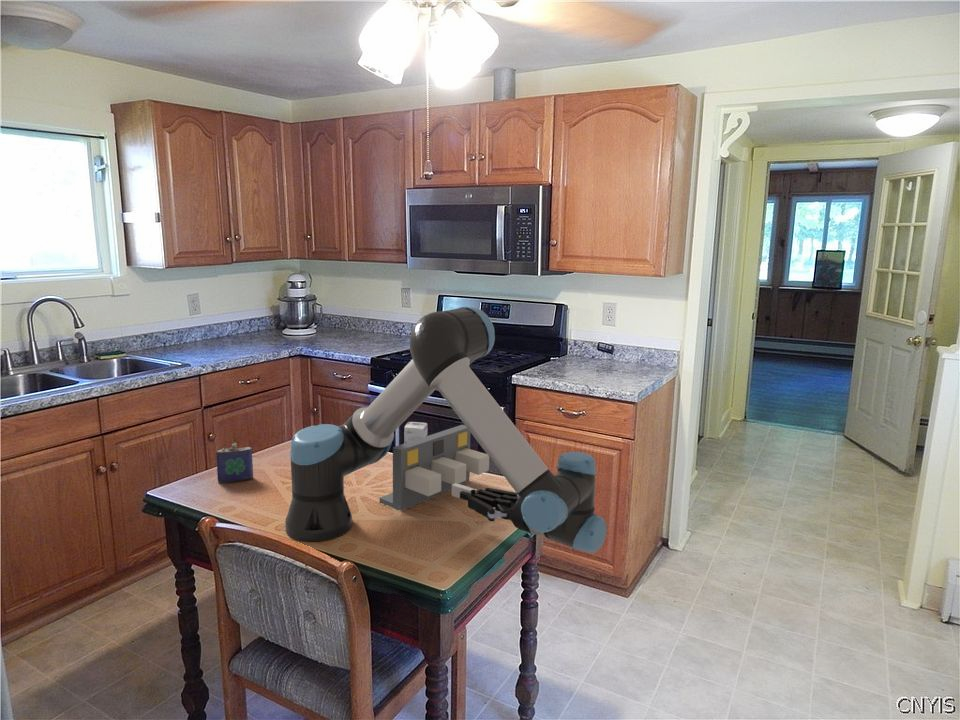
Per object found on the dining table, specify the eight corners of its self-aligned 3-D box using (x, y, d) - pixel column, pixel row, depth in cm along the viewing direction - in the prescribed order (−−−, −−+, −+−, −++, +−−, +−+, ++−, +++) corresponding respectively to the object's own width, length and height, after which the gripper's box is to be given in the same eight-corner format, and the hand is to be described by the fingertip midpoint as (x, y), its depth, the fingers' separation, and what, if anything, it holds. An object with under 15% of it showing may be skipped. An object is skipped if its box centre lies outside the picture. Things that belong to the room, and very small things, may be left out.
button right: (478, 474, 168) (478, 459, 167) (449, 465, 174) (449, 449, 174) (488, 470, 171) (489, 454, 170) (459, 461, 178) (459, 446, 177)
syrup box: (427, 469, 187) (427, 421, 184) (423, 476, 181) (423, 427, 178) (408, 467, 188) (408, 420, 185) (403, 475, 182) (403, 426, 179)
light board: (402, 511, 158) (402, 450, 155) (379, 502, 163) (379, 442, 160) (470, 481, 178) (471, 427, 175) (448, 474, 183) (449, 421, 180)
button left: (428, 496, 153) (428, 479, 153) (398, 484, 160) (398, 468, 159) (441, 491, 157) (441, 474, 156) (411, 480, 163) (411, 463, 162)
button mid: (454, 485, 161) (455, 468, 160) (424, 474, 167) (425, 458, 166) (466, 480, 164) (466, 464, 163) (436, 470, 171) (436, 454, 170)
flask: (253, 476, 178) (251, 440, 176) (253, 480, 176) (252, 443, 174) (217, 480, 175) (215, 443, 173) (217, 484, 172) (215, 447, 170)
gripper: (517, 543, 132) (435, 513, 147) (552, 522, 142) (471, 495, 157) (518, 509, 131) (434, 482, 145) (552, 490, 140) (471, 466, 155)
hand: (453, 489), depth 151 cm, fingers closed
